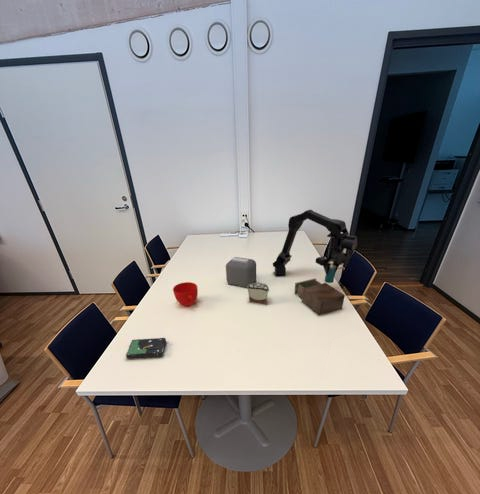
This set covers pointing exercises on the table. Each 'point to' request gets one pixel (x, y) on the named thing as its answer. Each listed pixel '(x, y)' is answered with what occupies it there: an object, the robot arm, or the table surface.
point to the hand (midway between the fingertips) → (330, 273)
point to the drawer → (304, 286)
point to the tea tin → (330, 273)
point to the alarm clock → (241, 271)
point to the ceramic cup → (186, 293)
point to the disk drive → (146, 348)
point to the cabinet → (322, 298)
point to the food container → (258, 293)
